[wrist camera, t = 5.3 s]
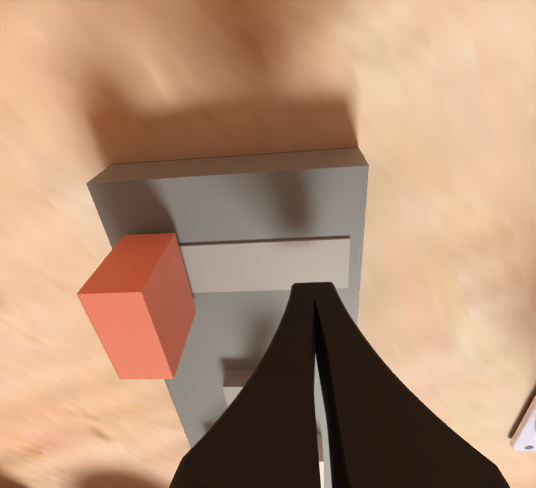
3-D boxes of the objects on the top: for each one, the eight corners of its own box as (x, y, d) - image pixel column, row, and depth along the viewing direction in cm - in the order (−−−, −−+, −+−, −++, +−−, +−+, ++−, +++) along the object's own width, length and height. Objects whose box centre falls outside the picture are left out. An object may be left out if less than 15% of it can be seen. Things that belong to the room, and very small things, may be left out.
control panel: (358, 147, 13) (378, 182, 10) (341, 461, 26) (347, 517, 23) (111, 164, 14) (63, 201, 11) (212, 459, 27) (202, 512, 24)
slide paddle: (174, 232, 13) (141, 292, 10) (196, 311, 15) (173, 378, 12) (124, 235, 13) (76, 293, 10) (152, 312, 15) (119, 378, 12)
